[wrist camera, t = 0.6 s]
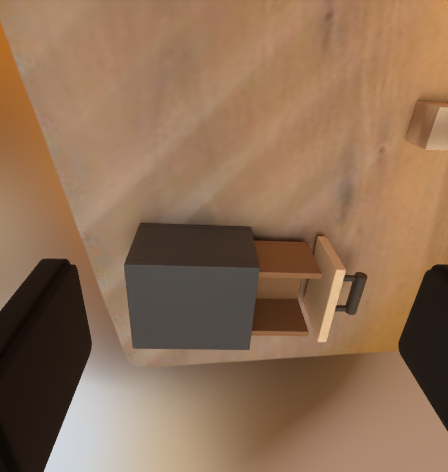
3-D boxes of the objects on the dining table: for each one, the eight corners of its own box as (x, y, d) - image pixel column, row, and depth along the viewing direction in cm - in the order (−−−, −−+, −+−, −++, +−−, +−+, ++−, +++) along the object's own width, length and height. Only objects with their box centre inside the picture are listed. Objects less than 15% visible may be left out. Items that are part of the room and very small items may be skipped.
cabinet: (250, 226, 46) (259, 268, 38) (243, 300, 53) (249, 350, 44) (139, 222, 46) (123, 264, 37) (145, 298, 52) (132, 348, 43)
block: (417, 100, 39) (439, 107, 35) (454, 102, 39) (480, 109, 36) (405, 139, 41) (425, 149, 37) (440, 141, 42) (463, 151, 38)
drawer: (358, 237, 47) (383, 271, 40) (339, 303, 52) (358, 342, 45) (225, 233, 46) (228, 267, 39) (221, 300, 51) (223, 340, 44)
